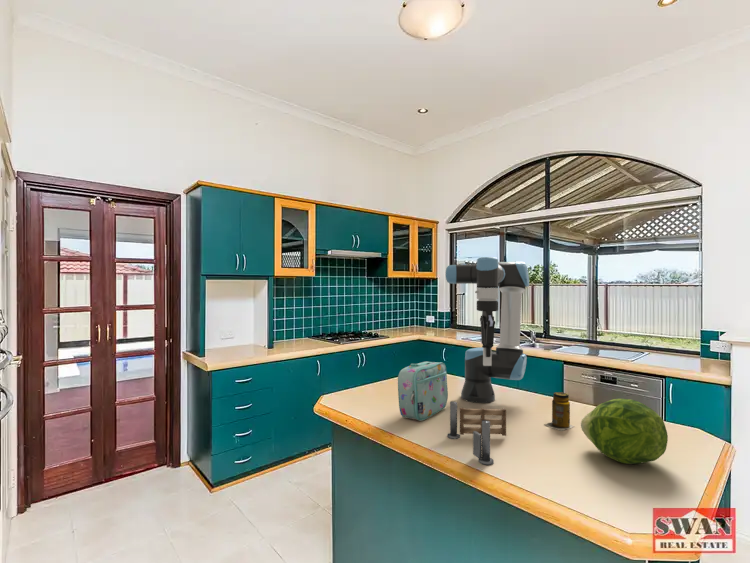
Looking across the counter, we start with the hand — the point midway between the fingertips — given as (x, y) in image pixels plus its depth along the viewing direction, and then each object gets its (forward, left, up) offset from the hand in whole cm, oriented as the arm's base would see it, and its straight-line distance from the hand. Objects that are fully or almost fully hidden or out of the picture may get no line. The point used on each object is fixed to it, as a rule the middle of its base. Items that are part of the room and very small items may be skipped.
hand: (487, 365), depth 143 cm
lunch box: (+14, -24, -24) cm, 37 cm away
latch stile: (+14, +21, -24) cm, 35 cm away
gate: (+5, +5, -23) cm, 24 cm away
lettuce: (-26, +31, -24) cm, 47 cm away
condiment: (-29, +3, -24) cm, 38 cm away
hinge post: (+14, +1, -24) cm, 28 cm away
